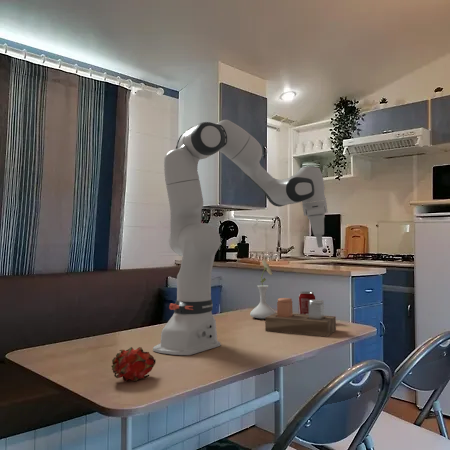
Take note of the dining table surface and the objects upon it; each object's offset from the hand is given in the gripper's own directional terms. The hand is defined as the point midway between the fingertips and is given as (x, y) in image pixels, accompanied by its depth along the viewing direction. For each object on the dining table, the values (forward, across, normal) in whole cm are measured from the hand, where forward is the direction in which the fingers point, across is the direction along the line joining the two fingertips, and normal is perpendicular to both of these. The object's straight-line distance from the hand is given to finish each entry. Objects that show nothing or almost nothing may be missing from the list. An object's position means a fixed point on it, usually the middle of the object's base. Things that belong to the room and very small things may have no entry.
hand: (320, 245), depth 167 cm
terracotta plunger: (+25, +4, -16) cm, 30 cm away
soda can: (+32, -12, -9) cm, 35 cm away
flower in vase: (+30, -20, -28) cm, 45 cm away
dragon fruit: (+20, +70, -49) cm, 88 cm away
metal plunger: (+26, +8, -5) cm, 27 cm away
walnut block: (+30, +6, -11) cm, 32 cm away
